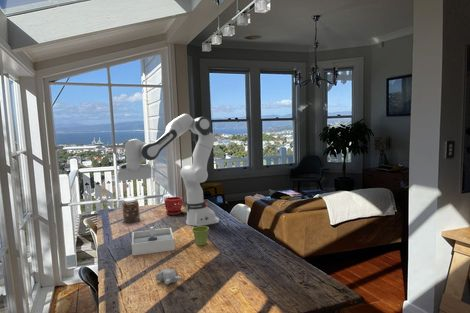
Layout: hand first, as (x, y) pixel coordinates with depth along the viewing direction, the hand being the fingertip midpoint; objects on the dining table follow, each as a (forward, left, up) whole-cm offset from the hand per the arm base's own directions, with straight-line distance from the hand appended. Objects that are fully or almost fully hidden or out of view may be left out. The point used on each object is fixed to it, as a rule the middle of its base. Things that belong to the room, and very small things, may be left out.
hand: (135, 186), depth 222 cm
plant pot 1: (-26, -37, -29) cm, 54 cm away
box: (-8, +31, -29) cm, 43 cm away
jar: (+5, -32, -29) cm, 44 cm away
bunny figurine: (-13, +80, -30) cm, 86 cm away
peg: (-8, +28, -29) cm, 41 cm away
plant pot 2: (-34, +38, -29) cm, 59 cm away
